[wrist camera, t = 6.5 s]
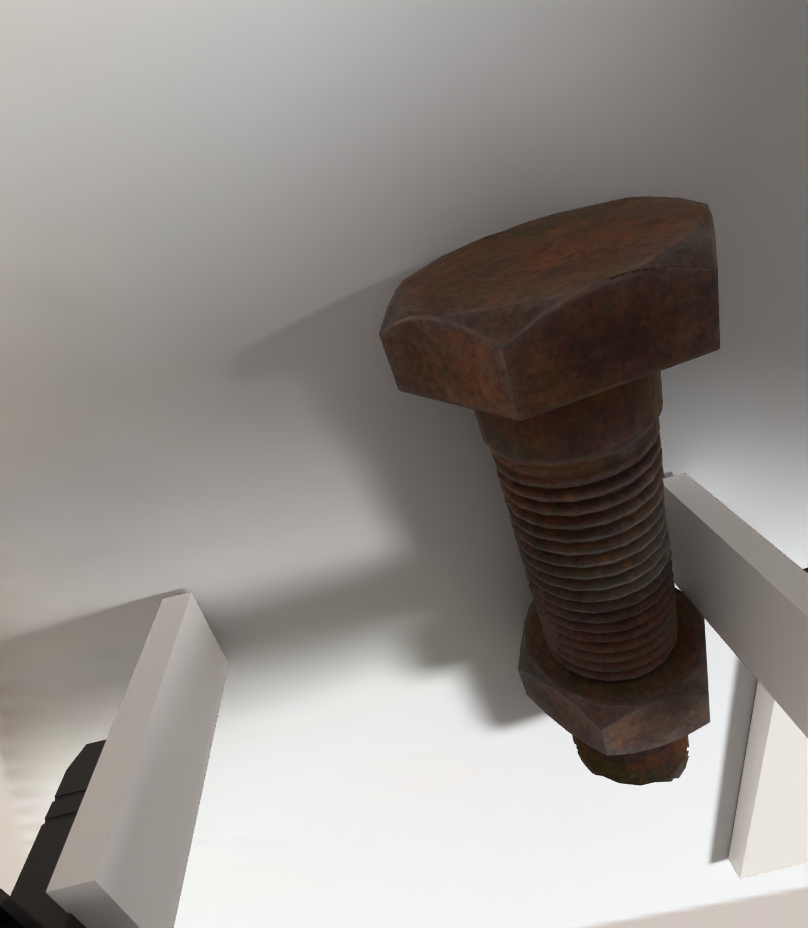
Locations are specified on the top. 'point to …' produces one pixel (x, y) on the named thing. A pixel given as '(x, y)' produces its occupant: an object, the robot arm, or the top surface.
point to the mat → (771, 794)
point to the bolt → (582, 451)
